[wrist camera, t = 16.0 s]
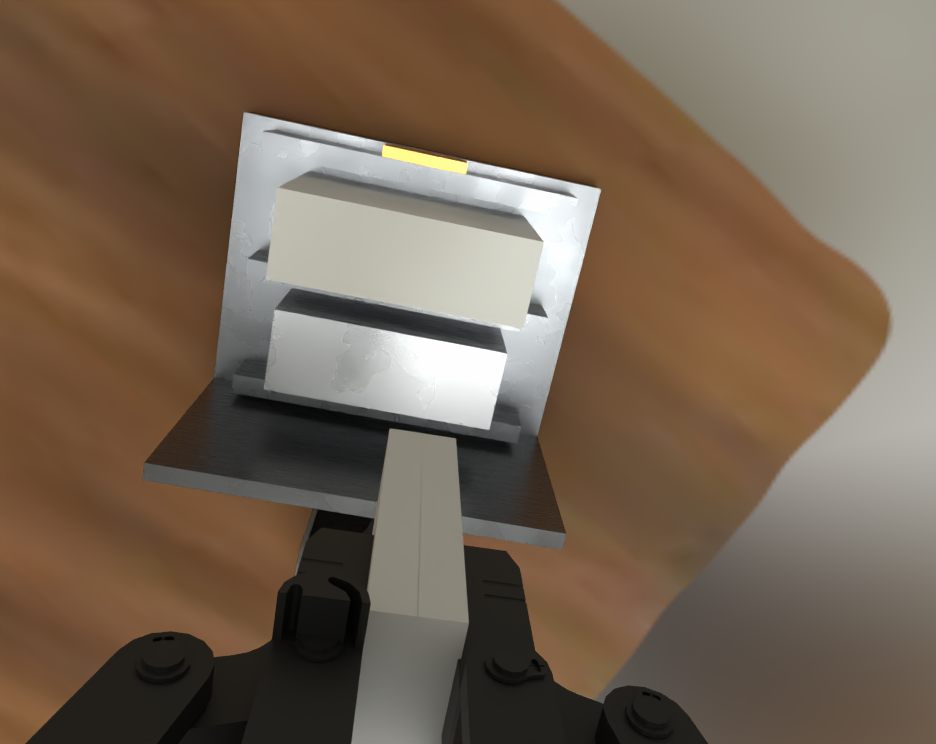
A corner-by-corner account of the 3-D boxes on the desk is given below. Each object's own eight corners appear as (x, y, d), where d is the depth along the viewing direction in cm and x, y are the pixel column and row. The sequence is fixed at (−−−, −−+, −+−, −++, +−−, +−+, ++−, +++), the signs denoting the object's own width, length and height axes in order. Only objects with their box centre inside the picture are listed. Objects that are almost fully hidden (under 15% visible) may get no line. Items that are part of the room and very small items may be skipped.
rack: (220, 382, 43) (142, 479, 32) (250, 111, 39) (173, 114, 28) (530, 438, 45) (561, 549, 34) (595, 186, 41) (656, 217, 29)
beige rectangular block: (298, 246, 40) (265, 279, 32) (309, 171, 38) (277, 187, 31) (507, 287, 41) (523, 329, 33) (523, 215, 40) (544, 242, 32)
